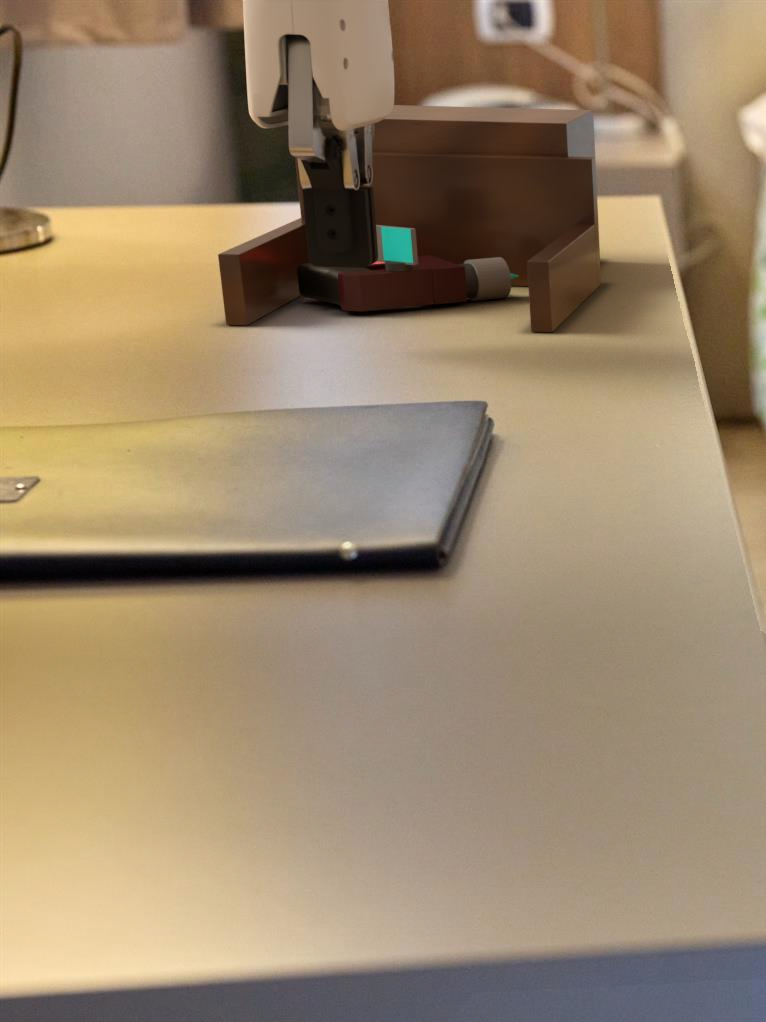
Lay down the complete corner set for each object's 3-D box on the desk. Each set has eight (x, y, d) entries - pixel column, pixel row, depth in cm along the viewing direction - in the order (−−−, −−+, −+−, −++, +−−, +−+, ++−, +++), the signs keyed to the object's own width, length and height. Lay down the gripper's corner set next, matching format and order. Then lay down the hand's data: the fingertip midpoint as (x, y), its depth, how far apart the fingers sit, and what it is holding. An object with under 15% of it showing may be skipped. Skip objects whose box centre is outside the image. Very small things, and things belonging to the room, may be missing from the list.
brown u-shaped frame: (225, 325, 110) (204, 143, 107) (355, 254, 134) (342, 103, 130) (552, 332, 111) (541, 151, 107) (625, 261, 134) (618, 110, 131)
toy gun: (533, 300, 120) (528, 219, 118) (342, 320, 113) (334, 235, 111) (463, 277, 127) (458, 200, 125) (280, 294, 119) (271, 213, 118)
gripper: (287, -106, 104) (316, 243, 110) (181, -117, 90) (221, 284, 96) (429, -101, 104) (450, 247, 110) (345, -111, 90) (375, 289, 96)
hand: (344, 264), depth 103 cm, fingers closed
